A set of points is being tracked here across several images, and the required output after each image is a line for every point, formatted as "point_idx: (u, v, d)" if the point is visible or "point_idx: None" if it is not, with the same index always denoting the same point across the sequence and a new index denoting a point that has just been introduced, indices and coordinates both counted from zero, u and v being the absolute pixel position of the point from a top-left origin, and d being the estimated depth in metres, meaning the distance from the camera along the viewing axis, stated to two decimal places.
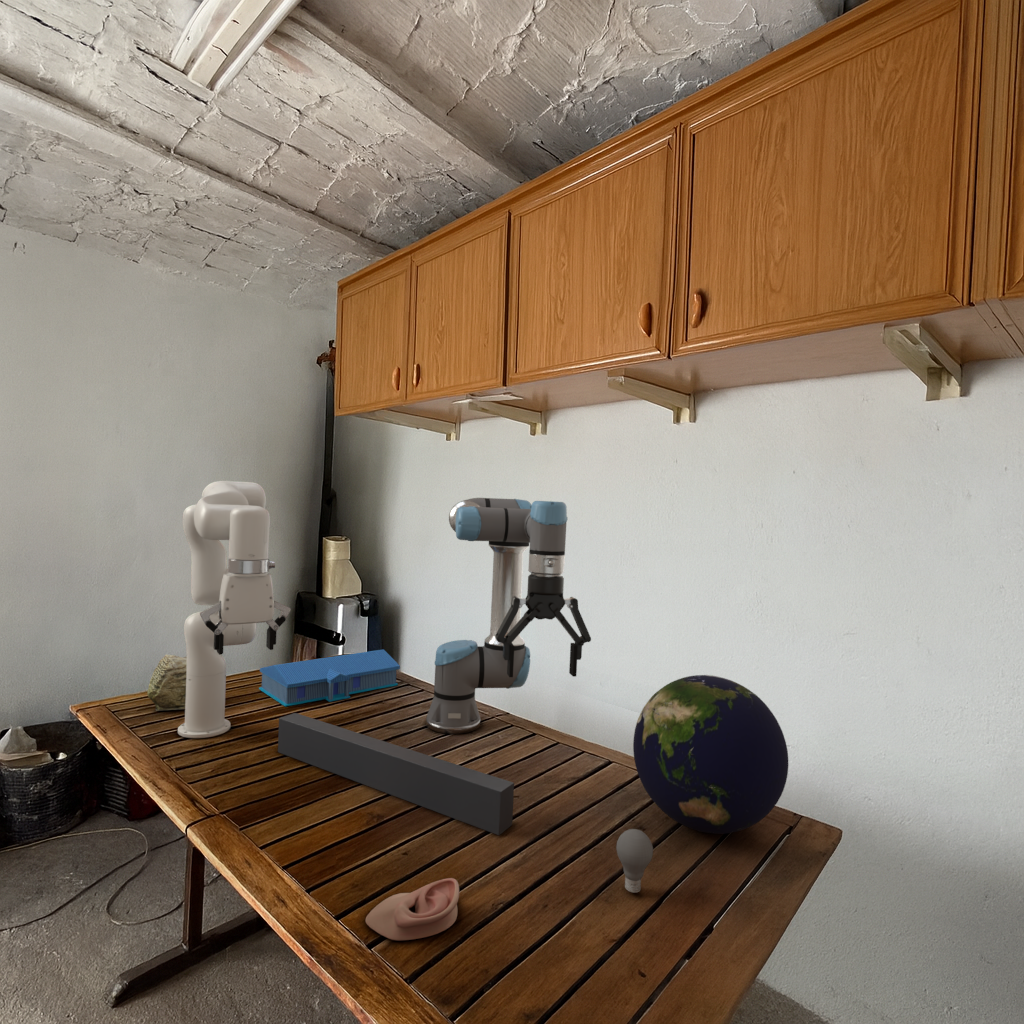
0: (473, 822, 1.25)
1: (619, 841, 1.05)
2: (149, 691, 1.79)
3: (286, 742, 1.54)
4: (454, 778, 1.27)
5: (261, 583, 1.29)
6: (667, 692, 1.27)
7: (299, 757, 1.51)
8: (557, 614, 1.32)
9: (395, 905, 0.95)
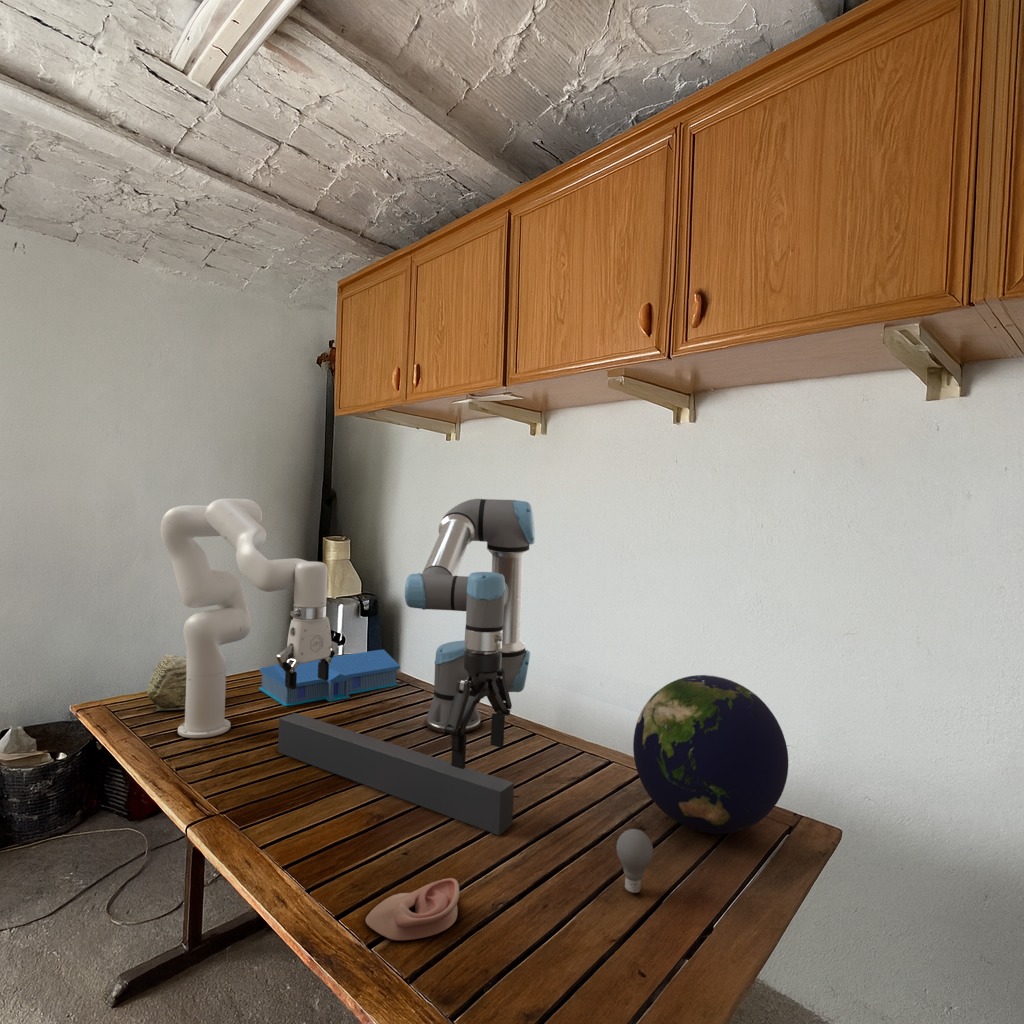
0: (473, 822, 1.25)
1: (619, 841, 1.05)
2: (149, 691, 1.79)
3: (286, 742, 1.54)
4: (454, 778, 1.27)
5: None
6: (667, 692, 1.27)
7: (299, 757, 1.51)
8: (494, 689, 1.28)
9: (395, 905, 0.95)
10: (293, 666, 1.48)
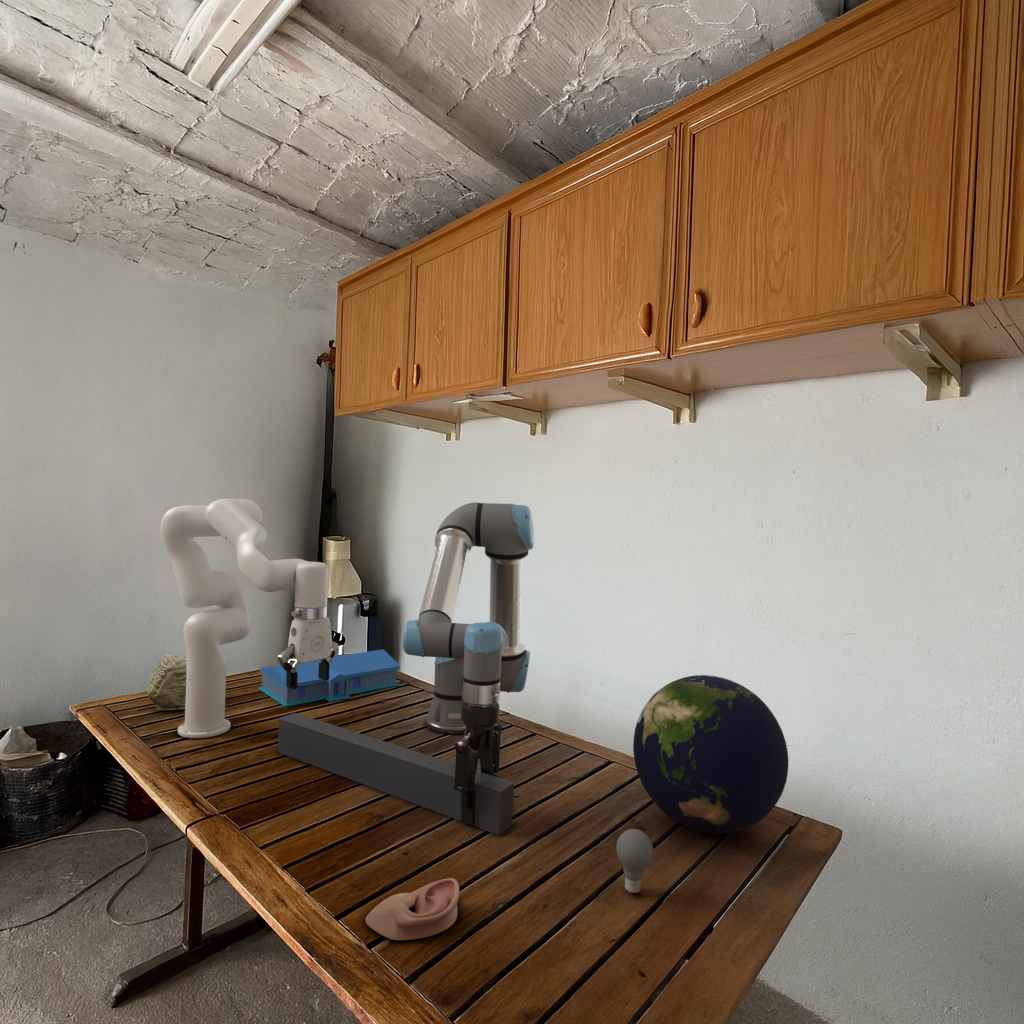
0: None
1: (619, 841, 1.05)
2: (149, 691, 1.79)
3: (286, 742, 1.54)
4: (454, 778, 1.27)
5: None
6: (667, 692, 1.27)
7: (299, 757, 1.51)
8: (490, 743, 1.27)
9: (395, 905, 0.95)
10: (294, 666, 1.48)
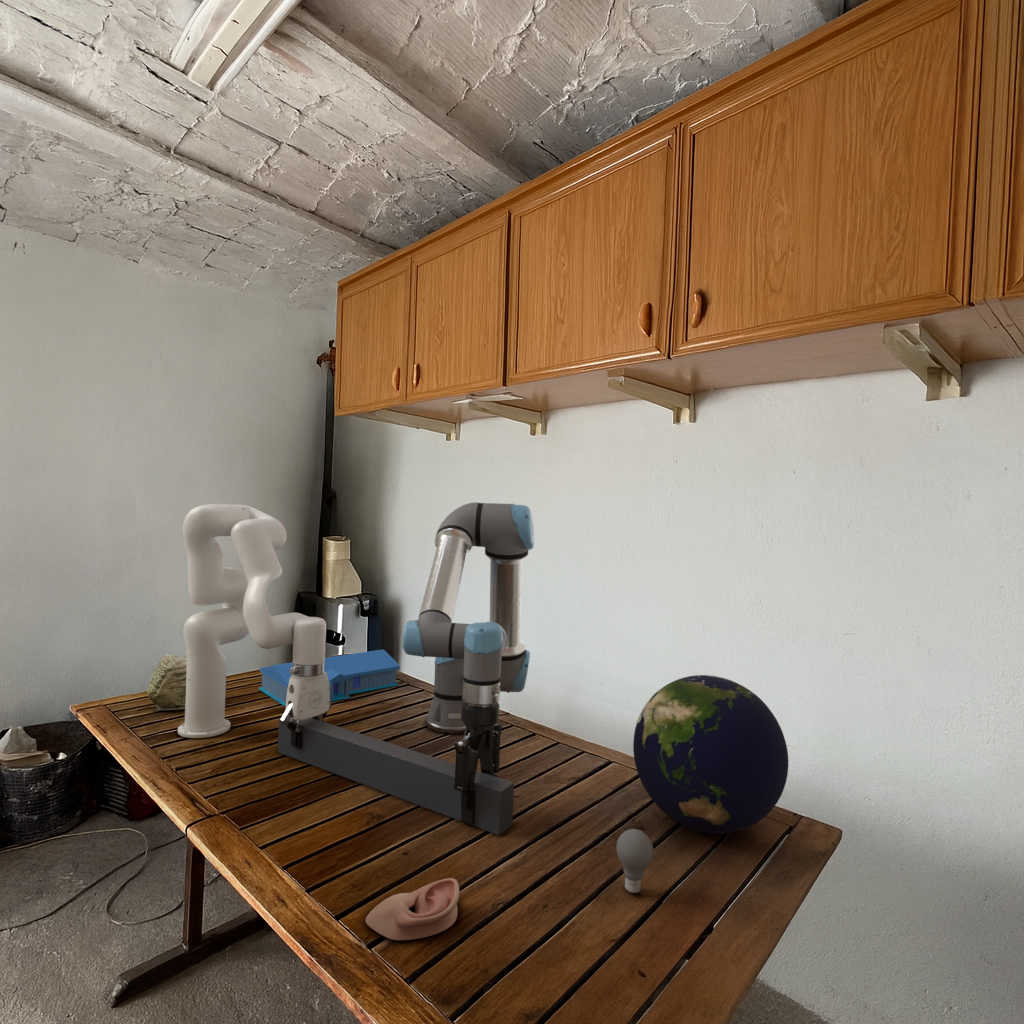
0: None
1: (619, 841, 1.05)
2: (149, 691, 1.79)
3: (286, 742, 1.54)
4: (454, 778, 1.27)
5: None
6: (667, 692, 1.27)
7: (299, 757, 1.51)
8: (490, 743, 1.27)
9: (395, 905, 0.95)
10: (297, 726, 1.50)
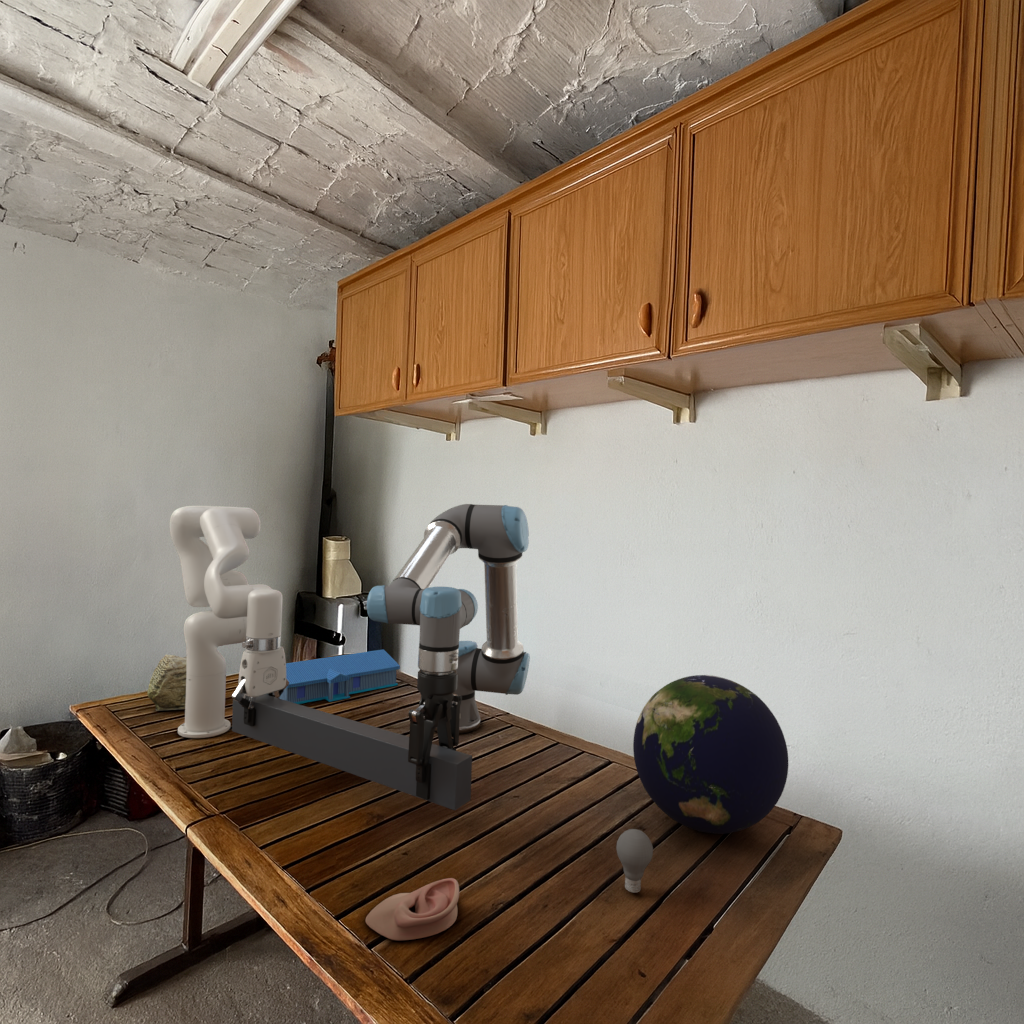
0: None
1: (619, 841, 1.05)
2: (149, 691, 1.79)
3: (240, 720, 1.46)
4: None
5: None
6: (667, 692, 1.27)
7: (253, 735, 1.44)
8: (448, 713, 1.20)
9: (395, 905, 0.95)
10: (251, 703, 1.43)
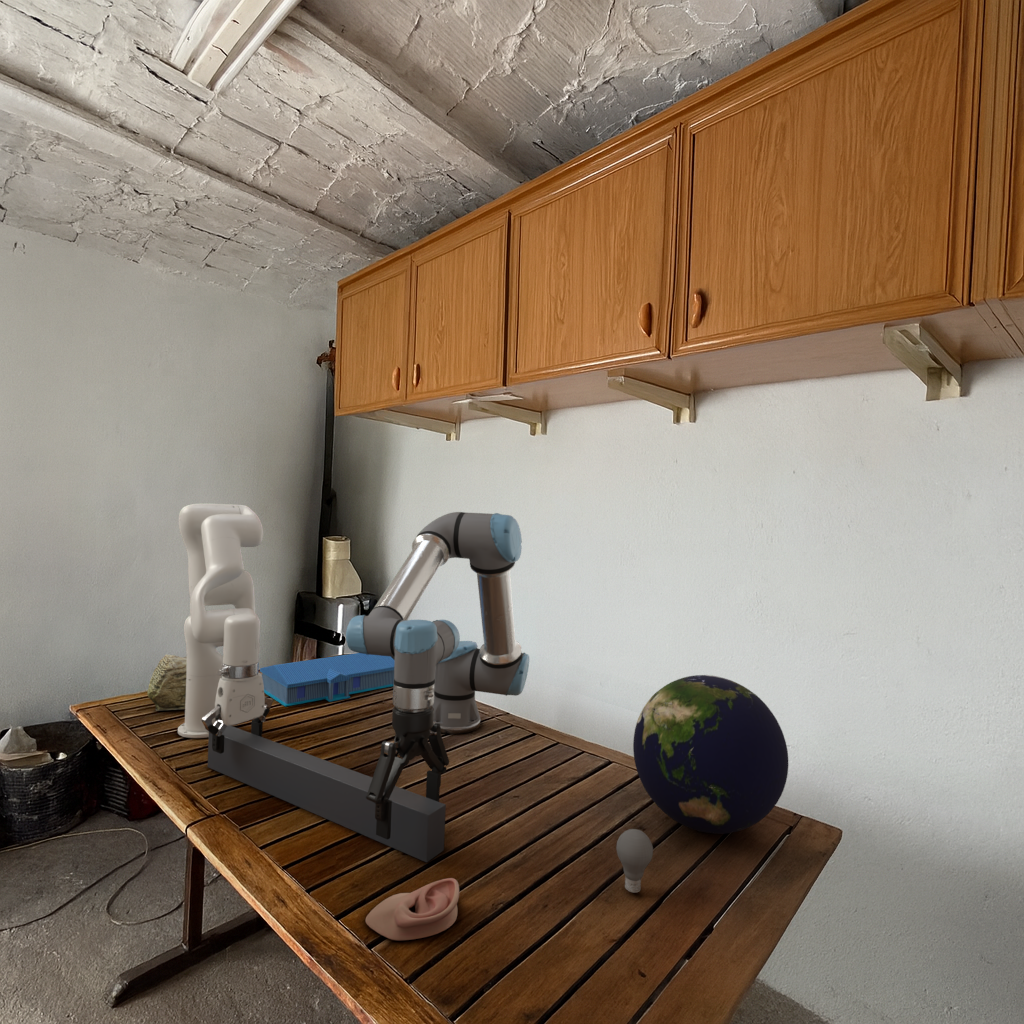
0: (400, 847, 1.15)
1: (619, 841, 1.05)
2: (149, 691, 1.79)
3: (216, 756, 1.44)
4: None
5: None
6: (667, 692, 1.27)
7: (228, 773, 1.41)
8: (427, 747, 1.17)
9: (395, 905, 0.95)
10: (220, 729, 1.38)
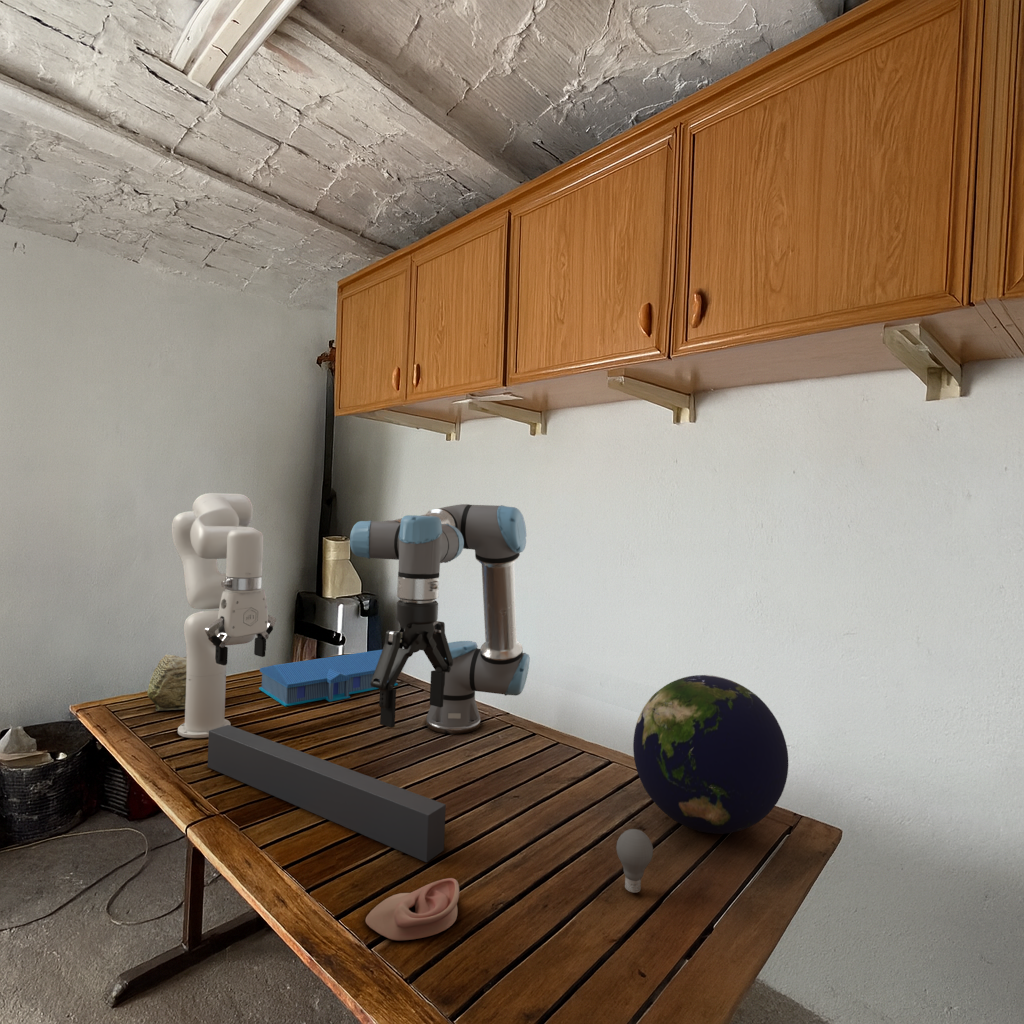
0: (400, 847, 1.15)
1: (619, 841, 1.05)
2: (149, 691, 1.79)
3: (216, 756, 1.44)
4: (382, 798, 1.17)
5: None
6: (667, 692, 1.27)
7: (228, 773, 1.41)
8: (431, 643, 1.17)
9: (395, 905, 0.95)
10: (224, 640, 1.38)
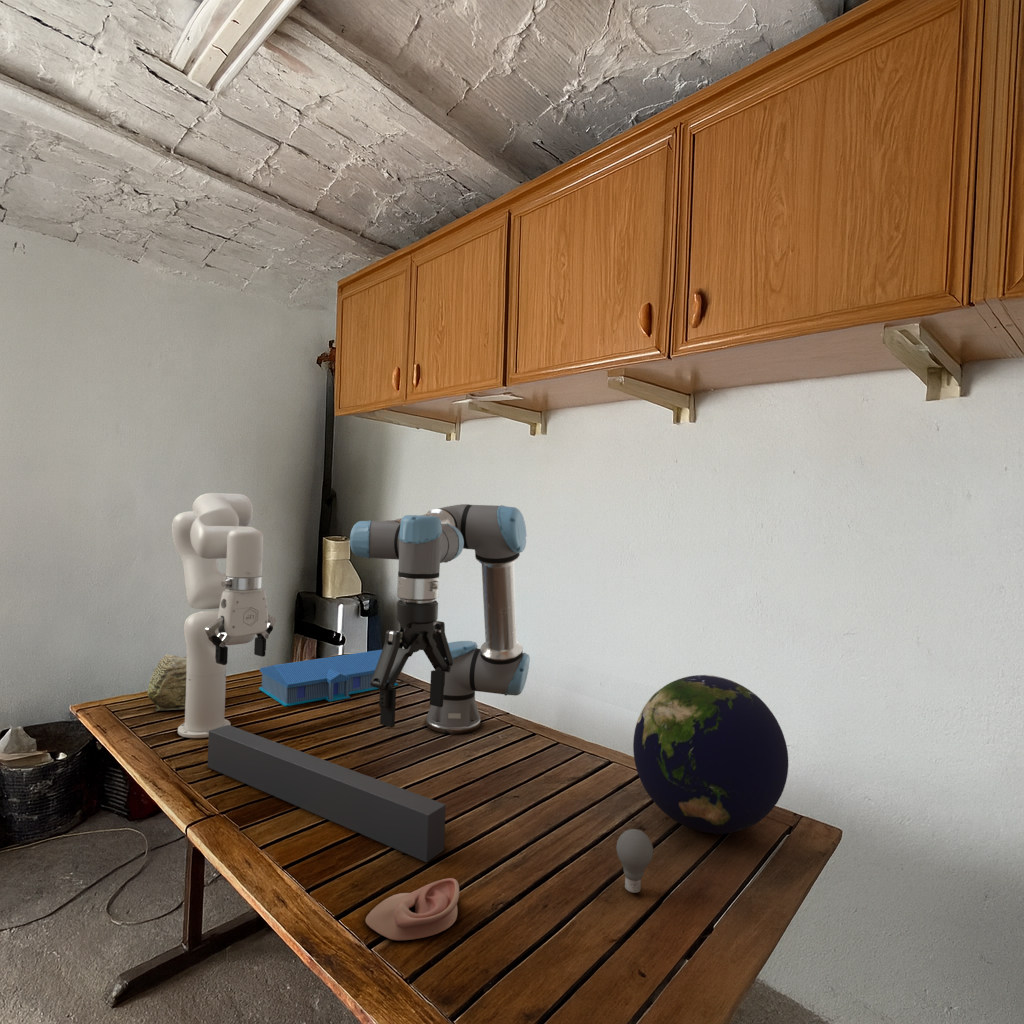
0: (400, 847, 1.15)
1: (619, 841, 1.05)
2: (149, 691, 1.79)
3: (216, 756, 1.44)
4: (382, 798, 1.17)
5: None
6: (667, 692, 1.27)
7: (228, 773, 1.41)
8: (431, 642, 1.17)
9: (395, 905, 0.95)
10: (224, 640, 1.38)
